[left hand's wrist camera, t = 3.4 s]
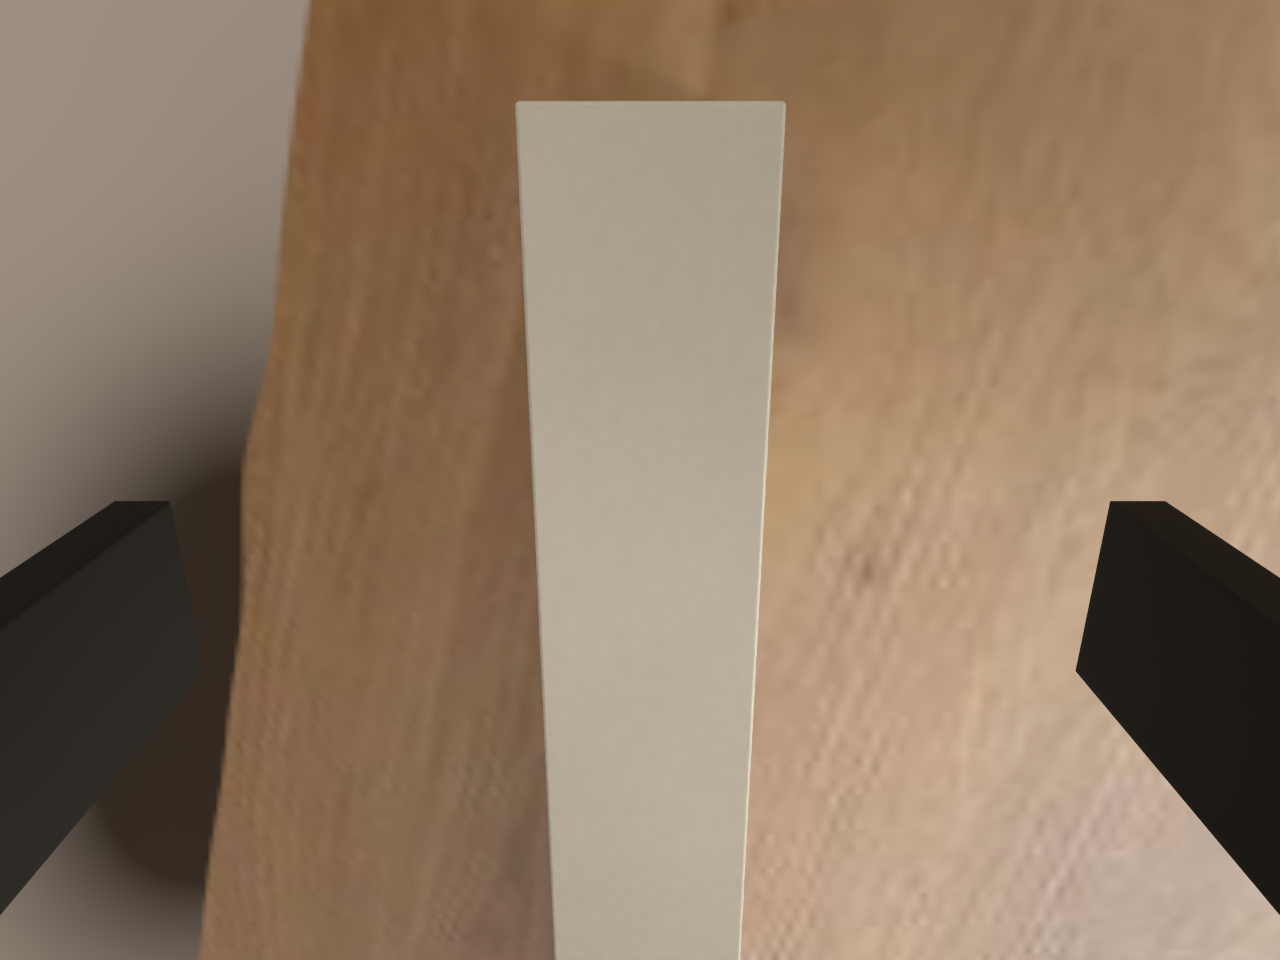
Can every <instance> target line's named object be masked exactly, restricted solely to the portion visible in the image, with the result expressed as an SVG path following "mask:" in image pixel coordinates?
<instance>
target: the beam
mask: <svg viewBox="0 0 1280 960" xmlns="http://www.w3.org/2000/svg"><path fill="white" fill-rule="evenodd" d="M785 119H786V104H785V102H783V101H518V102H516V104H515V121H516V143H517V164H518V186H519V208H520V229H521V251H522V272H523V294H524V316H525V337H526V359H527V380H528V402H529V423H530V445H531V467H532V488H533V510H534V531H535V553H536V575H537V596H538V618H539V639H540V661H541V682H542V704H543V726H544V747H545V769H546V790H547V812H548V833H549V855H550V877H551V898H552V920H553V941H554V960H740V951H741V932H742V914H743V895H744V877H745V858H746V840H747V821H748V803H749V784H750V766H751V747H752V729H753V710H754V692H755V674H756V655H757V637H758V618H759V600H760V581H761V563H762V544H763V526H764V507H765V489H766V470H767V452H768V433H769V415H770V396H771V378H772V360H773V341H774V323H775V304H776V286H777V267H778V249H779V230H780V212H781V193H782V175H783V156H784V138H785Z"/></svg>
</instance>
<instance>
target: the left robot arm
mask: <svg viewBox="0 0 1280 960" xmlns="http://www.w3.org/2000/svg"><path fill="white" fill-rule="evenodd" d="M203 672H204V667H203V662H202V657H201V652H200V648H199V643H198V638H197V633H196V628H195V623H194V618H193V613H192V608H191V603H190V598H189V594H188V589H187V584H186V579H185V574H184V569H183V564H182V559H181V554H180V550H179V545H178V540H177V535H176V530H175V525H174V520H173V515H172V510H171V505H170V501H115V502H113V503H112V504H110V505H109V506H107V507H106V508H104V509H103V510H101V511H100V512H98V513H97V514H95V515H94V516H92V517H91V518H89V519H88V520H86V521H85V522H83V523H82V524H80V525H79V526H77V527H76V528H74V529H73V530H71V531H70V532H68V533H67V534H65V535H64V536H62V537H61V538H59V539H58V540H56V541H55V542H53V543H52V544H50V545H49V546H47V547H46V548H44V549H43V550H41V551H40V552H38V553H37V554H35V555H34V556H32V557H31V558H29V559H28V560H26V561H25V562H23V563H22V564H20V565H19V566H17V567H16V568H14V569H13V570H11V571H10V572H8V573H7V574H5V575H4V576H2V577H1V578H0V915H1V913H2V912H3V911H4V910H5V909H6V907H7V906H8V905H9V904H10V903H11V901H12V900H13V899H14V898H15V897H16V895H17V894H18V893H19V892H20V891H21V890H22V888H23V887H24V886H25V885H26V883H27V882H28V881H29V880H30V879H31V878H32V876H33V875H34V874H35V873H36V872H37V870H38V869H39V868H40V867H41V866H42V864H43V863H44V862H45V861H46V860H47V858H48V857H49V856H50V855H51V854H52V852H53V851H54V850H55V849H56V848H57V847H58V845H59V844H60V843H61V842H62V841H63V839H64V838H65V837H66V836H67V835H68V833H69V832H70V831H71V830H72V828H73V827H74V826H75V825H76V824H77V823H78V821H79V820H80V819H81V818H82V817H83V815H84V814H85V813H86V812H87V811H88V809H89V808H90V807H91V806H92V805H93V803H94V802H95V801H96V800H97V799H98V797H99V796H100V795H101V794H102V793H103V791H104V790H105V789H106V788H107V787H108V786H109V784H110V783H111V782H112V781H113V780H114V778H115V777H116V776H117V775H118V774H119V772H120V771H121V770H122V769H123V768H124V766H125V765H126V764H127V763H128V762H129V760H130V759H131V758H132V757H133V756H134V754H135V753H136V752H137V751H138V750H139V748H140V747H141V746H142V745H143V744H144V742H145V741H146V740H147V739H148V738H149V737H150V735H151V734H152V733H153V732H154V731H155V729H156V728H157V727H158V726H159V725H160V723H161V722H162V721H163V720H164V719H165V717H166V716H167V715H168V714H169V713H170V711H171V710H172V709H173V708H174V707H175V705H176V704H177V703H178V702H179V701H180V699H181V698H182V697H183V696H184V695H185V694H186V692H187V691H188V690H189V689H190V687H191V686H192V685H193V684H194V683H195V681H196V680H197V679H198V678H199V677H200V675H201V674H202V673H203ZM1076 672H1077V673H1078V674H1079V676H1080V677H1081V678H1082V679H1083V680H1084V682H1085V683H1086V684H1087V685H1088V686H1089V688H1090V689H1091V690H1092V691H1093V692H1094V694H1095V695H1096V696H1097V697H1098V698H1099V699H1100V701H1101V702H1102V703H1103V704H1104V705H1105V707H1106V708H1107V709H1108V710H1109V711H1110V713H1111V714H1112V715H1113V716H1114V717H1115V719H1116V720H1117V721H1118V722H1119V723H1120V725H1121V726H1122V727H1123V728H1124V729H1125V731H1126V732H1127V733H1128V734H1129V735H1130V737H1131V738H1132V739H1133V740H1134V741H1135V743H1136V744H1137V745H1138V746H1139V747H1140V748H1141V750H1142V751H1143V752H1144V753H1145V754H1146V756H1147V757H1148V758H1149V759H1150V760H1151V762H1152V763H1153V764H1154V765H1155V766H1156V768H1157V769H1158V770H1159V771H1160V772H1161V774H1162V775H1163V776H1164V777H1165V778H1166V780H1167V781H1168V782H1169V783H1170V784H1171V786H1172V787H1173V788H1174V789H1175V790H1176V792H1177V793H1178V794H1179V795H1180V796H1181V798H1182V799H1183V800H1184V801H1185V802H1186V803H1187V805H1188V806H1189V807H1190V808H1191V809H1192V811H1193V812H1194V813H1195V814H1196V815H1197V817H1198V818H1199V819H1200V820H1201V821H1202V823H1203V824H1204V825H1205V826H1206V827H1207V829H1208V830H1209V831H1210V832H1211V833H1212V835H1213V836H1214V837H1215V838H1216V839H1217V841H1218V842H1219V843H1220V844H1221V845H1222V847H1223V848H1224V849H1225V850H1226V851H1227V852H1228V854H1229V855H1230V856H1231V857H1232V858H1233V860H1234V861H1235V862H1236V863H1237V864H1238V866H1239V867H1240V868H1241V869H1242V870H1243V872H1244V873H1245V874H1246V875H1247V876H1248V878H1249V879H1250V880H1251V881H1252V882H1253V884H1254V885H1255V886H1256V887H1257V888H1258V890H1259V891H1260V892H1261V893H1262V894H1263V896H1264V897H1265V898H1266V899H1267V900H1268V901H1269V903H1270V904H1271V905H1272V906H1273V907H1274V909H1275V910H1276V911H1277V912H1278V913H1279V915H1280V578H1279V577H1278V576H1276V575H1275V574H1273V573H1272V572H1270V571H1269V570H1267V569H1266V568H1264V567H1263V566H1261V565H1260V564H1258V563H1257V562H1255V561H1254V560H1252V559H1251V558H1249V557H1248V556H1246V555H1245V554H1243V553H1242V552H1240V551H1239V550H1237V549H1236V548H1234V547H1233V546H1231V545H1230V544H1228V543H1227V542H1225V541H1224V540H1222V539H1221V538H1219V537H1218V536H1216V535H1215V534H1213V533H1212V532H1210V531H1209V530H1207V529H1206V528H1204V527H1203V526H1201V525H1200V524H1198V523H1197V522H1195V521H1194V520H1192V519H1191V518H1189V517H1188V516H1186V515H1185V514H1183V513H1182V512H1180V511H1179V510H1177V509H1176V508H1174V507H1173V506H1171V505H1170V504H1168V503H1167V502H1165V501H1110V505H1109V510H1108V515H1107V520H1106V525H1105V530H1104V535H1103V540H1102V544H1101V549H1100V554H1099V559H1098V564H1097V569H1096V574H1095V579H1094V584H1093V589H1092V594H1091V598H1090V603H1089V608H1088V613H1087V618H1086V623H1085V628H1084V633H1083V638H1082V643H1081V648H1080V652H1079V657H1078V662H1077V667H1076Z"/></svg>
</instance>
